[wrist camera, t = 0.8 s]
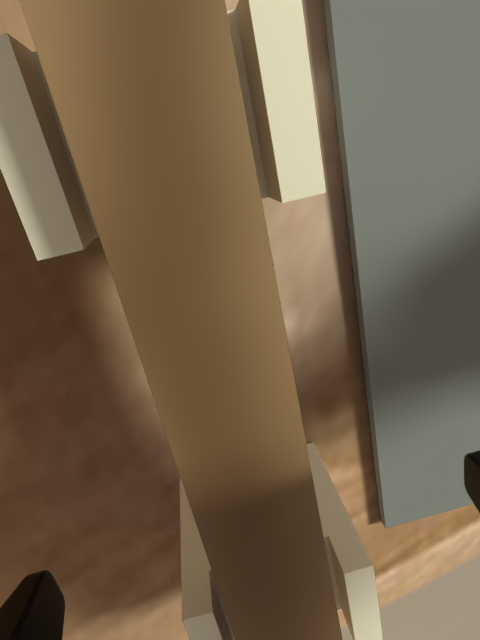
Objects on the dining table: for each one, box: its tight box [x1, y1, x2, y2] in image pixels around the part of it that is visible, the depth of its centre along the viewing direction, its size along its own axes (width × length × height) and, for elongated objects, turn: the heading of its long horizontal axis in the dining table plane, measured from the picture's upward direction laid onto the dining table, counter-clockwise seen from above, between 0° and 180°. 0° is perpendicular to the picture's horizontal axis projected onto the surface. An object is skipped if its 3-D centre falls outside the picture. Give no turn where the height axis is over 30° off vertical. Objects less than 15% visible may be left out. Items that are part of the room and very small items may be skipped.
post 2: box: [180, 443, 383, 640], centre depth 18 cm, size 6×4×6 cm, turn 102°
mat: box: [323, 0, 480, 528], centre depth 18 cm, size 8×24×1 cm, turn 12°
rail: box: [19, 0, 342, 640], centre depth 12 cm, size 3×22×3 cm, turn 12°
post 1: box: [0, 0, 326, 261], centre depth 12 cm, size 6×4×6 cm, turn 102°
